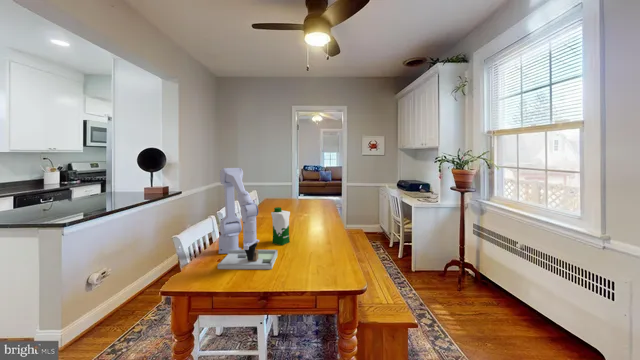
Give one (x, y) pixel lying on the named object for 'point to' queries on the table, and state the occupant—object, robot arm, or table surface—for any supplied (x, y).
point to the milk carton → (280, 226)
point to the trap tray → (240, 261)
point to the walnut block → (255, 256)
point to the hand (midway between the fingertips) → (250, 259)
